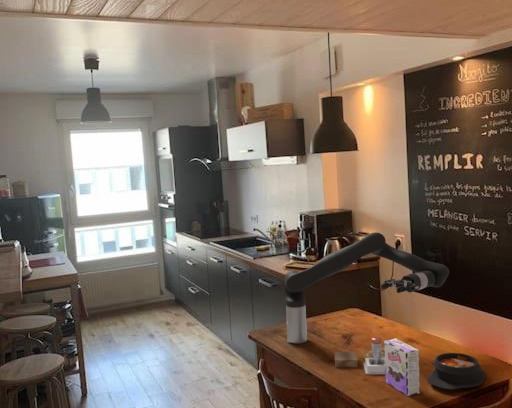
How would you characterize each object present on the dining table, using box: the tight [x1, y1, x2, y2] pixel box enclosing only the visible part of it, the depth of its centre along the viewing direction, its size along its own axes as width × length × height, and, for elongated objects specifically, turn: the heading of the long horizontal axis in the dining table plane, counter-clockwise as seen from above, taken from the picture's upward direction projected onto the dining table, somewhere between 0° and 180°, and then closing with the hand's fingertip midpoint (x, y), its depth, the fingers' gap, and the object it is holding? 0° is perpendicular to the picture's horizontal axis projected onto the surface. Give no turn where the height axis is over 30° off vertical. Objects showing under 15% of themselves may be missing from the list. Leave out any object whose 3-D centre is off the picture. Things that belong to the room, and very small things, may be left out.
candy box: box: [383, 338, 421, 397], centre depth 192 cm, size 14×6×16 cm, turn 21°
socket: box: [362, 357, 385, 375], centre depth 210 cm, size 10×10×3 cm
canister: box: [370, 336, 383, 365], centre depth 210 cm, size 4×4×12 cm
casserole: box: [426, 352, 488, 391], centre depth 195 cm, size 25×19×8 cm
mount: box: [333, 351, 359, 368], centre depth 218 cm, size 9×9×3 cm
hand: (389, 288), depth 218 cm, fingers open, 8 cm apart
